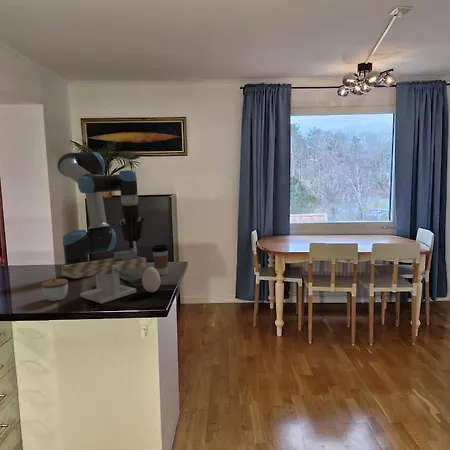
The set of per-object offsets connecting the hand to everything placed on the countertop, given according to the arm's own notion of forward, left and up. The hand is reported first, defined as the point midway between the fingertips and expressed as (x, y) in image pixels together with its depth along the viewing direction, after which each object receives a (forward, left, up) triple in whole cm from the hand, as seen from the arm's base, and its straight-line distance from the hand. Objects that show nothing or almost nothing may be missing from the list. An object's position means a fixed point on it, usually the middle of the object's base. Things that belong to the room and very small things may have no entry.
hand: (134, 254), depth 191 cm
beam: (0, -15, -3) cm, 15 cm away
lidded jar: (-14, -32, -15) cm, 38 cm away
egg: (+14, -2, -15) cm, 21 cm away
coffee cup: (-6, +21, -15) cm, 26 cm away
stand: (0, -15, -15) cm, 21 cm away
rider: (0, -5, -3) cm, 6 cm away
